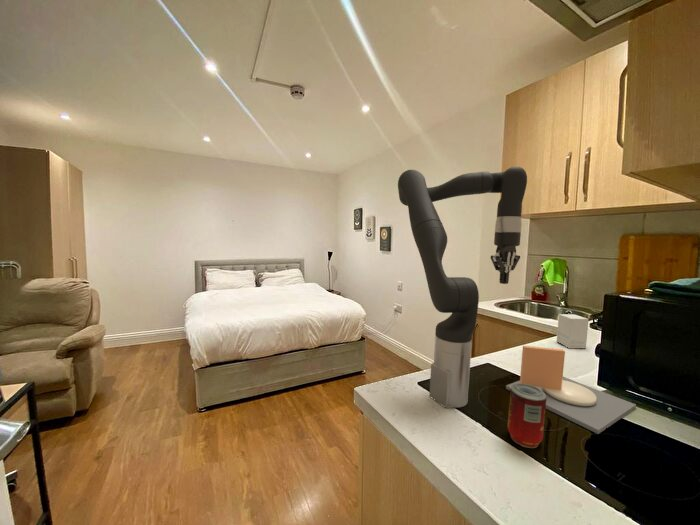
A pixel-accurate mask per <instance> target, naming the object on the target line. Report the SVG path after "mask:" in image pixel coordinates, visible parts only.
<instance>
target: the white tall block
mask: <svg viewBox="0 0 700 525" xmlns="http://www.w3.org/2000/svg"><path fill="white" fill-rule="evenodd" d="M589 320H590V319H589V318H586V317H583V316H580V315H578V314H572V313H571V314H570V313H569V314H568V313H567V314H566V313H565V314H564V313H561V314H560V313H559V314H558V322H557V330H556V343H557V342H559V343H561V344H563V345H565V346H566V348H567V347H568V348H567V349H570V348H586V349H587V339H588V330H589ZM559 343H558V344H559ZM561 344H560V345H561ZM563 345H562V346H563ZM565 346H564V347H565Z"/></svg>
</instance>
